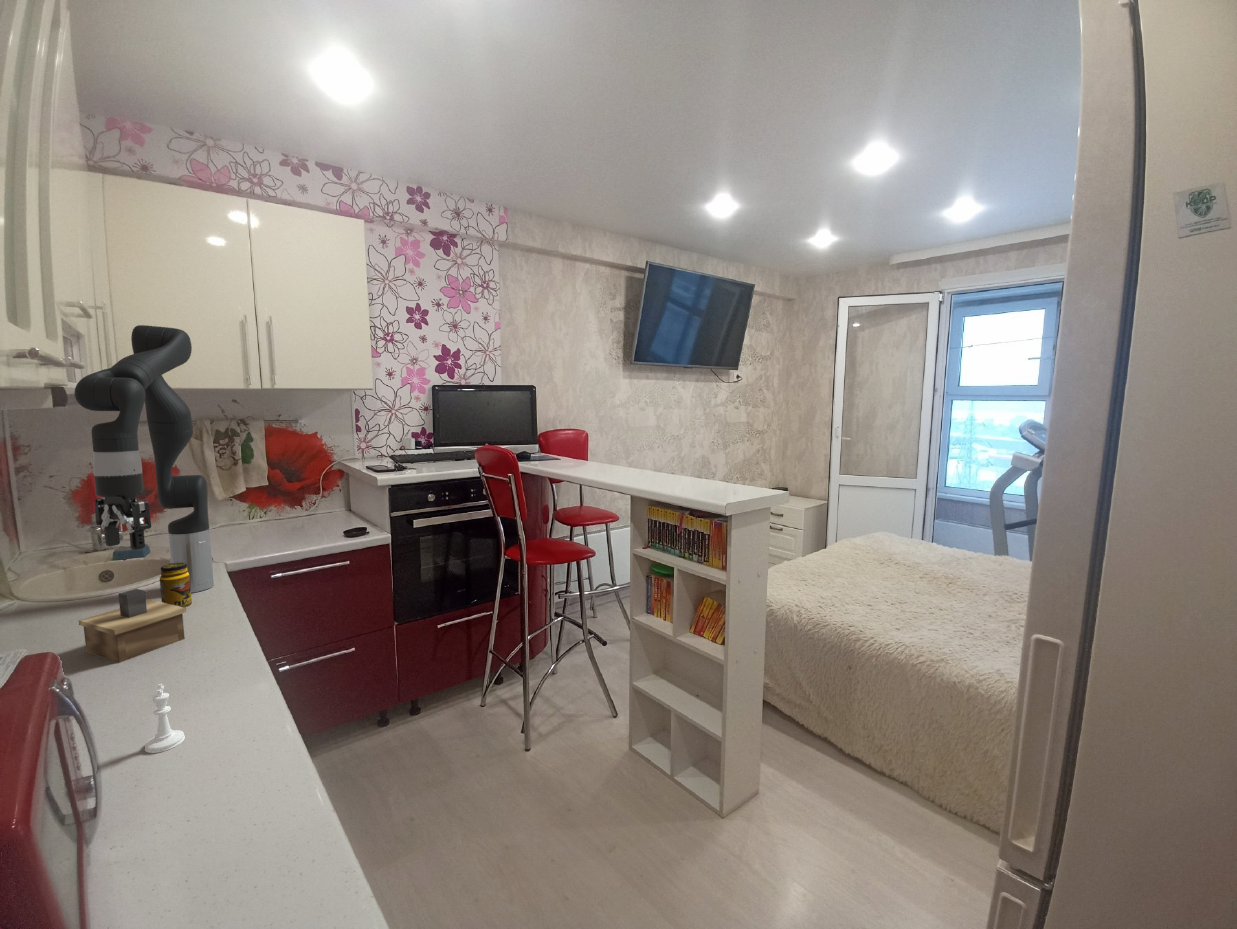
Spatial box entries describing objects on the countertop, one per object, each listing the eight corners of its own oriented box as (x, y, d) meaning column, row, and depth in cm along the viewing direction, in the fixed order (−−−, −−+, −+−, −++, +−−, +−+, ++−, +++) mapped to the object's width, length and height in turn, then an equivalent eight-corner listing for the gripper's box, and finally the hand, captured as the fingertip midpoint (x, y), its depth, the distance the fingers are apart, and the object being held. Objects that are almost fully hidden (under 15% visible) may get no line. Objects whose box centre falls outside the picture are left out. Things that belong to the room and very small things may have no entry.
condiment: (192, 610, 139) (188, 566, 138) (149, 617, 134) (145, 571, 133) (195, 601, 145) (191, 559, 144) (154, 608, 140) (150, 564, 139)
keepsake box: (86, 655, 114) (83, 624, 113) (152, 633, 125) (149, 604, 124) (120, 666, 110) (116, 633, 109) (184, 642, 121) (182, 612, 120)
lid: (79, 628, 113) (75, 597, 112) (151, 607, 125) (148, 579, 124) (115, 638, 108) (112, 606, 108) (186, 615, 120) (184, 586, 120)
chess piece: (139, 756, 82) (133, 695, 81) (152, 738, 87) (146, 680, 86) (178, 748, 84) (173, 689, 83) (189, 731, 89) (184, 674, 87)
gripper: (160, 472, 114) (166, 546, 115) (119, 469, 118) (125, 540, 120) (118, 476, 107) (125, 554, 108) (75, 472, 111) (83, 548, 113)
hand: (125, 547), depth 114 cm, fingers open, 8 cm apart
